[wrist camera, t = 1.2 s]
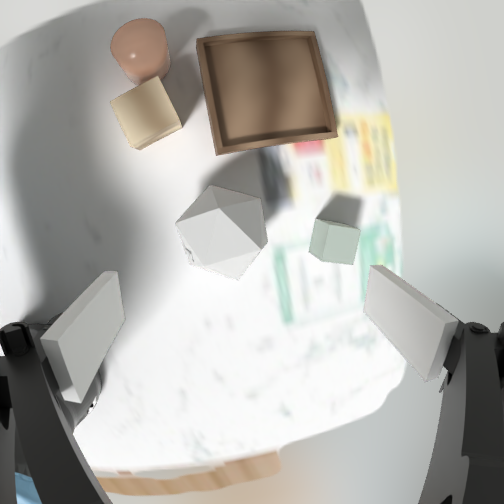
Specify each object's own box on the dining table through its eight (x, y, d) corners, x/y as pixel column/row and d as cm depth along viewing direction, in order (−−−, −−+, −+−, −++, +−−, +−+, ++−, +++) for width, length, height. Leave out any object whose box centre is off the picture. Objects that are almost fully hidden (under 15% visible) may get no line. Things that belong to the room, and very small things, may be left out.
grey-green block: (308, 251, 35) (321, 261, 31) (314, 218, 34) (329, 224, 30) (337, 255, 36) (353, 264, 32) (344, 223, 35) (361, 230, 31)
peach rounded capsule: (128, 90, 26) (112, 70, 20) (124, 52, 25) (109, 27, 18) (173, 79, 27) (168, 56, 20) (167, 42, 26) (162, 13, 19)
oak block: (140, 150, 29) (130, 146, 24) (121, 111, 27) (109, 101, 22) (182, 128, 29) (179, 120, 24) (163, 89, 27) (158, 75, 22)
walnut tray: (216, 155, 30) (217, 154, 28) (196, 47, 26) (196, 38, 24) (328, 138, 32) (338, 136, 30) (306, 38, 28) (314, 31, 26)
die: (195, 174, 31) (147, 225, 24) (273, 171, 28) (243, 227, 21) (212, 235, 36) (176, 293, 29) (282, 238, 33) (259, 304, 26)
